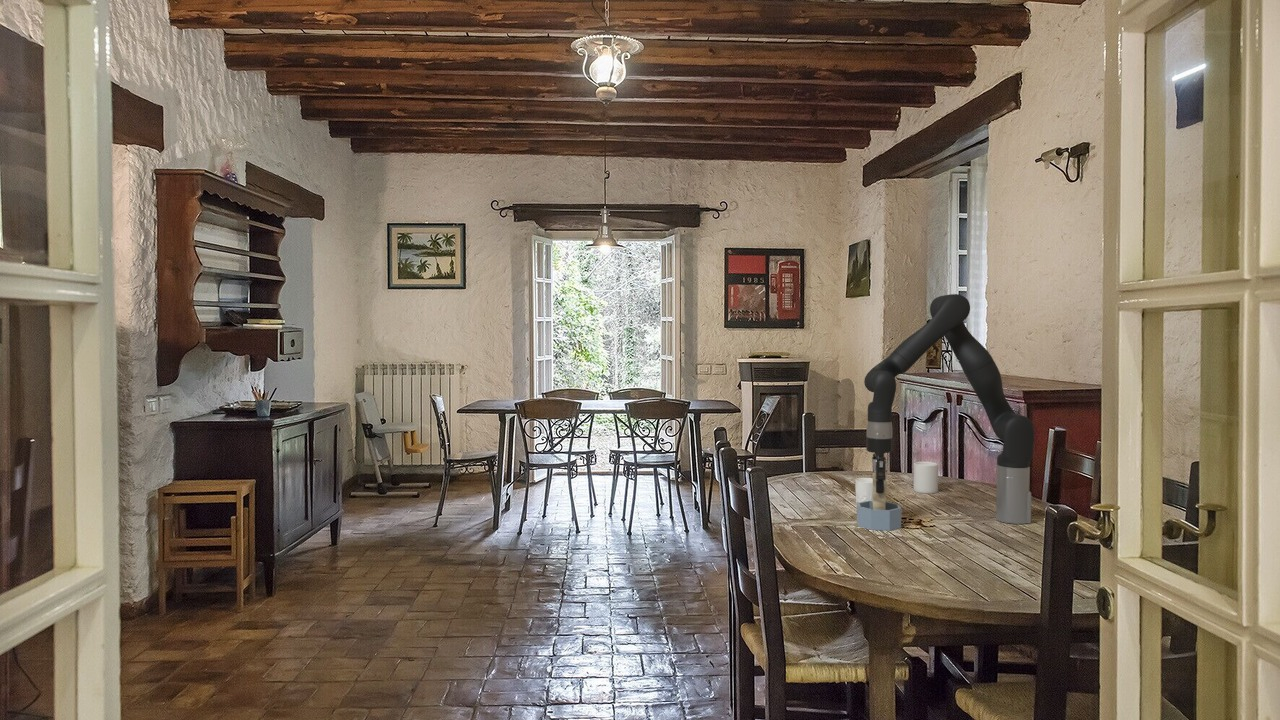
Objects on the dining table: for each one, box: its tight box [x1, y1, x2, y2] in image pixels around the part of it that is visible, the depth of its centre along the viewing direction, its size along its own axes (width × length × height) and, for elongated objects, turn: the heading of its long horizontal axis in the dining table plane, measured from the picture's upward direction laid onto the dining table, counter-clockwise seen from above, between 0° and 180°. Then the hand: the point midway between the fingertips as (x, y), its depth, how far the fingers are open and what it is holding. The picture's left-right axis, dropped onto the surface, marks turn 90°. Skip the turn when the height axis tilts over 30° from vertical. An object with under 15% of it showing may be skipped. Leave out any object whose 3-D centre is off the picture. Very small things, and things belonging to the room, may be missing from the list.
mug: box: [913, 461, 939, 495], centre depth 291 cm, size 12×8×10 cm
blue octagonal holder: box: [856, 501, 902, 532], centre depth 243 cm, size 13×13×6 cm
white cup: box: [854, 477, 873, 505], centre depth 262 cm, size 8×8×10 cm
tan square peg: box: [872, 472, 887, 510], centre depth 242 cm, size 4×4×15 cm
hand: (878, 490), depth 242 cm, fingers open, 6 cm apart
